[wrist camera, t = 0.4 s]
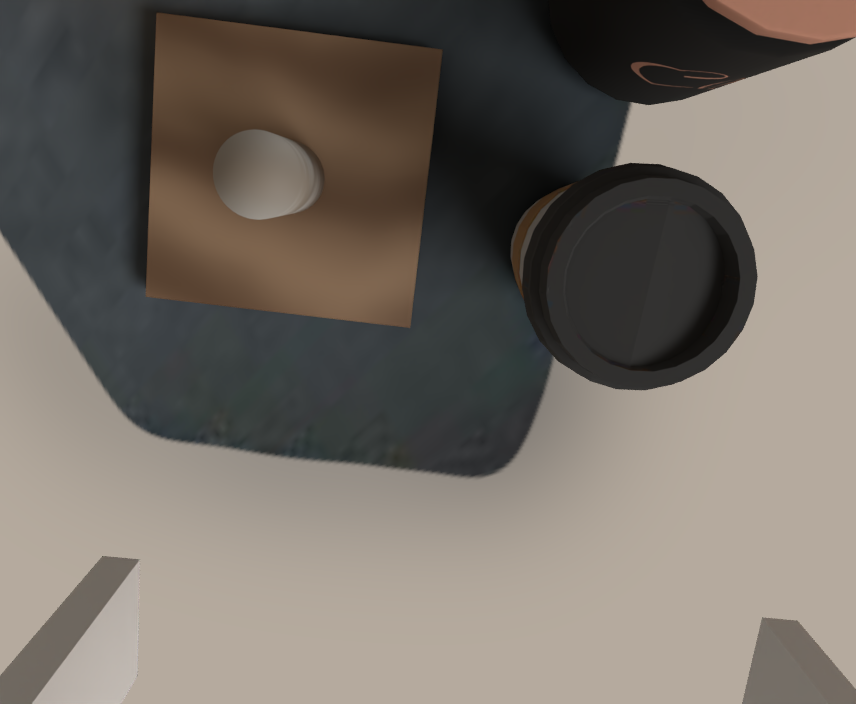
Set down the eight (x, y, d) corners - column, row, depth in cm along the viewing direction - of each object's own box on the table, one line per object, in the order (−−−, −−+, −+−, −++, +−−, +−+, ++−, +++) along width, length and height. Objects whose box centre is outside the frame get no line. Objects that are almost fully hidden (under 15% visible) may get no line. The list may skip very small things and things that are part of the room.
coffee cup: (661, 185, 39) (803, 184, 25) (625, 337, 41) (737, 420, 26) (507, 157, 39) (558, 139, 24) (477, 311, 41) (508, 381, 26)
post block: (167, 19, 37) (88, -33, 29) (442, 54, 38) (447, 14, 29) (155, 292, 40) (81, 322, 32) (410, 322, 41) (407, 360, 32)
